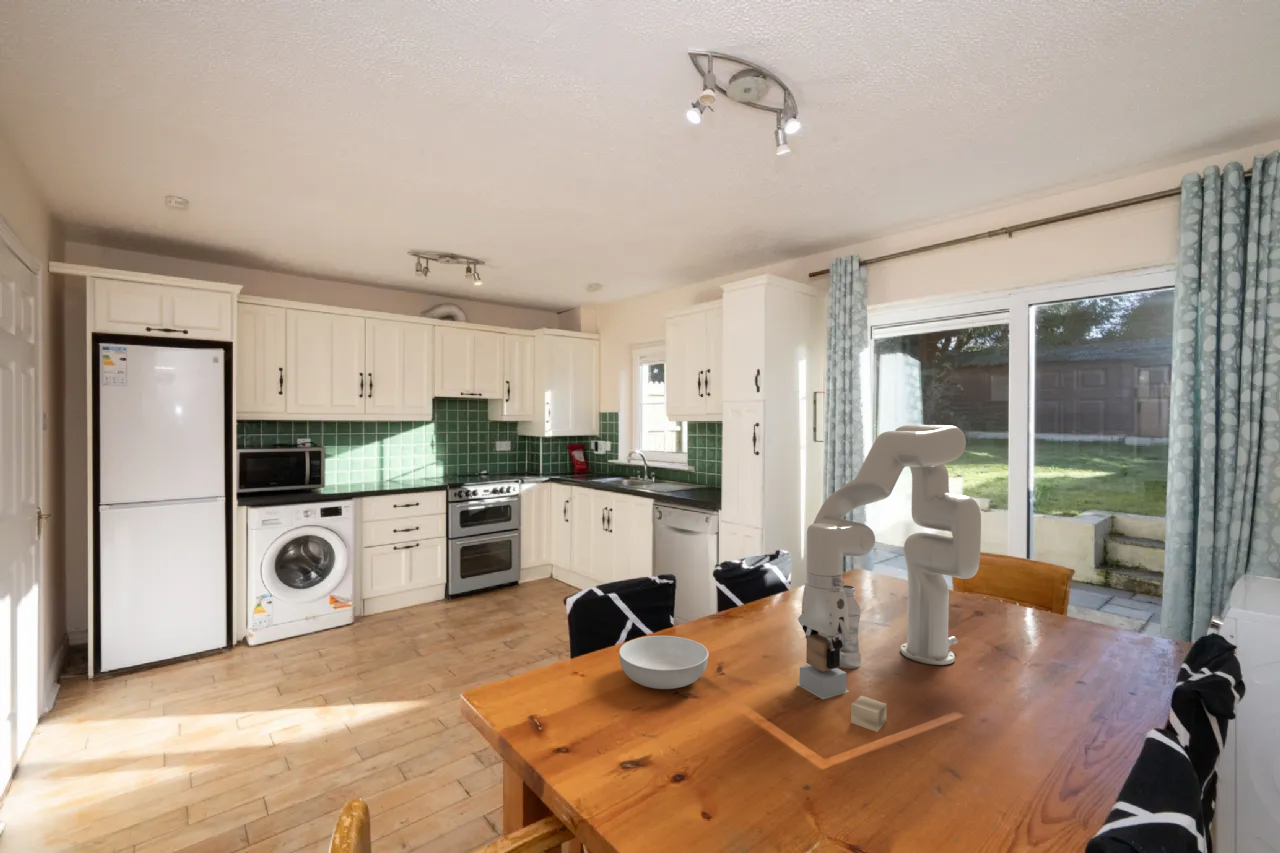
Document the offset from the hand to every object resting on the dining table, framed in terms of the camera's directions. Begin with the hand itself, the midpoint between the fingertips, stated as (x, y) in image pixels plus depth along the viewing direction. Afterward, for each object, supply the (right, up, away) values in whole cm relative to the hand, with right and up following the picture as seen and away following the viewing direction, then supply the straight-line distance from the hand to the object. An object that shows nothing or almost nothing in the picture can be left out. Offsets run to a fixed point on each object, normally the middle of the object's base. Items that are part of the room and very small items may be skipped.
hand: (823, 661), depth 128 cm
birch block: (+4, -7, -15) cm, 17 cm away
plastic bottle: (+10, -7, +13) cm, 18 cm away
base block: (0, -6, 0) cm, 6 cm away
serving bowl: (-35, -7, +6) cm, 36 cm away
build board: (0, -7, 0) cm, 7 cm away
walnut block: (0, -1, 0) cm, 1 cm away
